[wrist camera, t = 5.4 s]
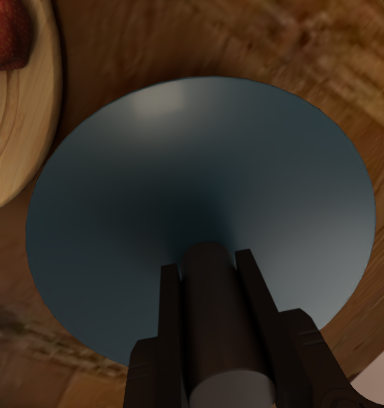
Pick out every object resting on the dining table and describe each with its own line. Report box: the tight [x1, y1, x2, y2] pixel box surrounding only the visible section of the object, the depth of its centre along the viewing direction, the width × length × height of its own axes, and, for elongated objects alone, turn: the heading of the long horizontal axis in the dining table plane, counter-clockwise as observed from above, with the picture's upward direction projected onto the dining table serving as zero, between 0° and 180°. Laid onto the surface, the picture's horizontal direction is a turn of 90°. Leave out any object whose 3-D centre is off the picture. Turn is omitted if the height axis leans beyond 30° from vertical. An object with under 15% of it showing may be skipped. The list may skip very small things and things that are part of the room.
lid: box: [26, 76, 376, 408], centre depth 13 cm, size 18×18×8 cm
